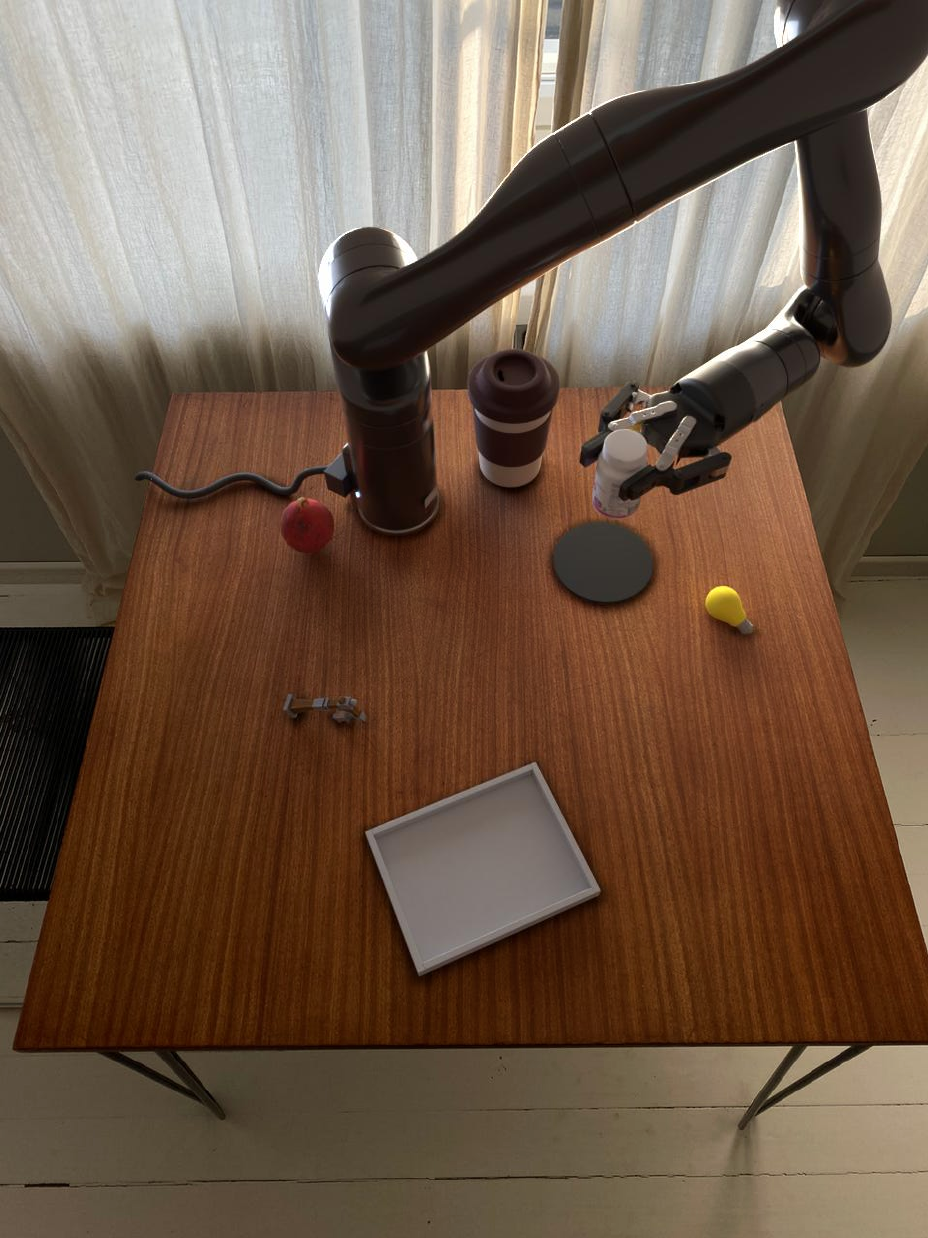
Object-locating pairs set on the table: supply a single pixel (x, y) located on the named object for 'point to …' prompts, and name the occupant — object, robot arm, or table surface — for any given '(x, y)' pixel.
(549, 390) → the coffee cup
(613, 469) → the pill bottle
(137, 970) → the table surface
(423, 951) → the tray
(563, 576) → the mat
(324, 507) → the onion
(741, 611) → the light bulb
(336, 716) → the wooden post with brackets
